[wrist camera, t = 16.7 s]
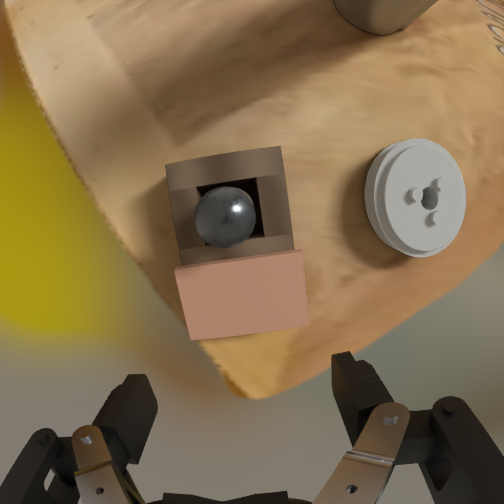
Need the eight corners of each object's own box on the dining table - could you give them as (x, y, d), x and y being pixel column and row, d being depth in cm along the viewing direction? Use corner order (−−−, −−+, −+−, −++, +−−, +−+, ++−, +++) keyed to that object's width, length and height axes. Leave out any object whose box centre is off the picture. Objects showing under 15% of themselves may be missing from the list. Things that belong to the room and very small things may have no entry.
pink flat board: (300, 248, 25) (302, 251, 24) (306, 320, 27) (308, 325, 26) (176, 266, 26) (173, 269, 25) (192, 335, 27) (190, 340, 26)
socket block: (275, 152, 28) (280, 145, 24) (294, 301, 32) (301, 321, 27) (178, 168, 29) (165, 164, 24) (204, 313, 32) (197, 334, 27)
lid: (411, 270, 32) (433, 283, 27) (339, 202, 30) (355, 205, 25) (462, 192, 30) (487, 195, 25) (399, 120, 28) (421, 111, 23)
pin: (250, 184, 29) (251, 182, 18) (255, 223, 30) (259, 243, 19) (211, 190, 29) (189, 192, 19) (217, 229, 30) (199, 252, 19)
